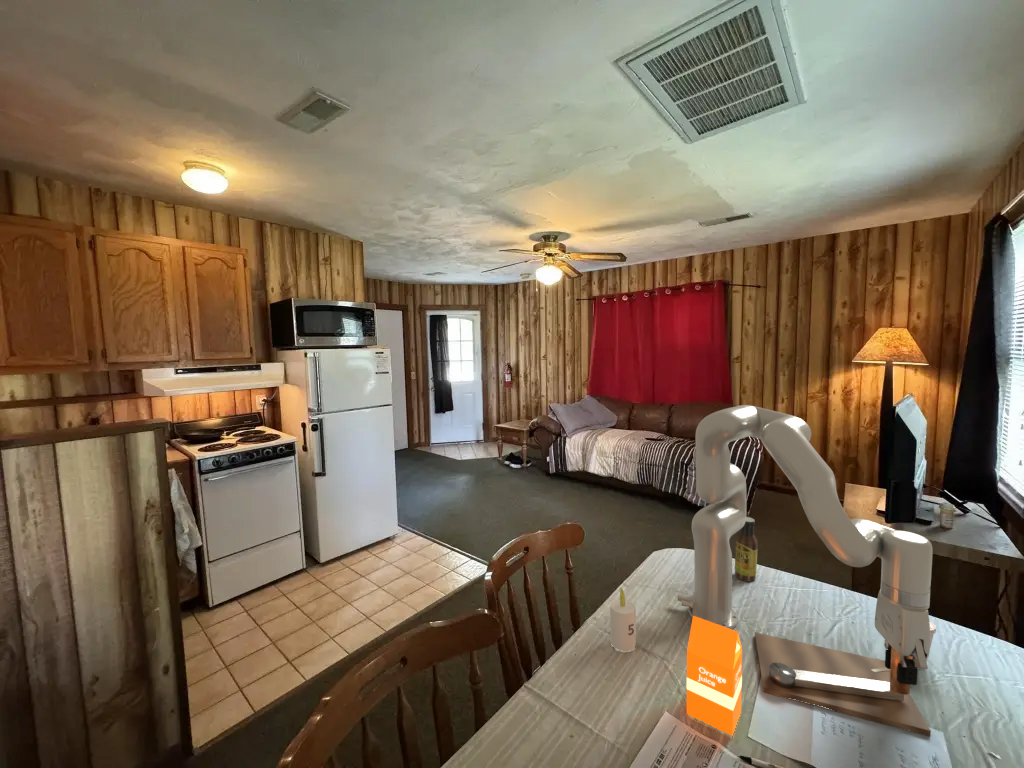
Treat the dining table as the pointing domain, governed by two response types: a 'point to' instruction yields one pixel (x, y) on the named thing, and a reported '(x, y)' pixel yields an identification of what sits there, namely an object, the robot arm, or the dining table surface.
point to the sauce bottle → (746, 552)
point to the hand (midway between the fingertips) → (900, 675)
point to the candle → (623, 623)
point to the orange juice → (714, 675)
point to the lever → (842, 681)
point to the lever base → (842, 665)
